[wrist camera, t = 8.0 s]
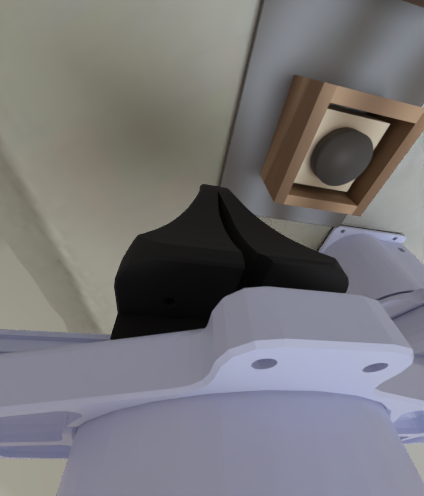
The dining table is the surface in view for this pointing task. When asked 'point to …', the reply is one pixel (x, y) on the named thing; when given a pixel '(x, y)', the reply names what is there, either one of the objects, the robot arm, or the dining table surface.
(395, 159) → the stand
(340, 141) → the plunger
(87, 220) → the dining table surface
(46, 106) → the dining table surface
